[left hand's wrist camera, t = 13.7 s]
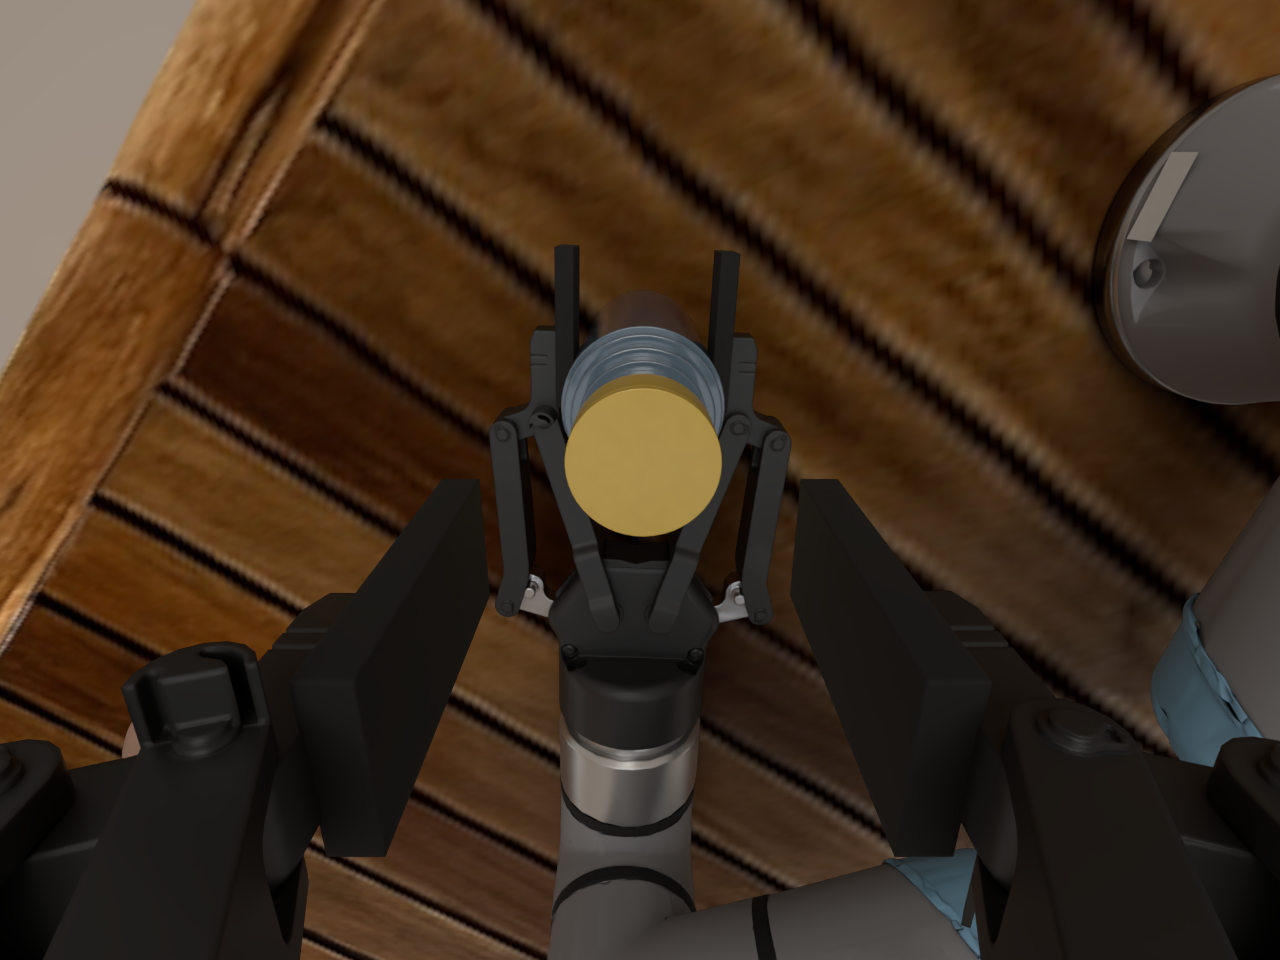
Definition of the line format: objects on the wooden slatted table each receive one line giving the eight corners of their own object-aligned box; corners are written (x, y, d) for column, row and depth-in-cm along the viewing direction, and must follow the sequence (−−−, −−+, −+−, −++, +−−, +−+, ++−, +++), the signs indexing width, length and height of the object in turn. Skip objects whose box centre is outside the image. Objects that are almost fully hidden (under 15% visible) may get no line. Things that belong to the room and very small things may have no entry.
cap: (613, 346, 19) (611, 358, 18) (742, 418, 20) (752, 436, 18) (546, 470, 21) (537, 493, 19) (669, 533, 22) (671, 561, 20)
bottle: (620, 268, 35) (600, 315, 18) (718, 325, 36) (788, 422, 19) (568, 368, 37) (504, 497, 19) (662, 419, 38) (680, 585, 20)
